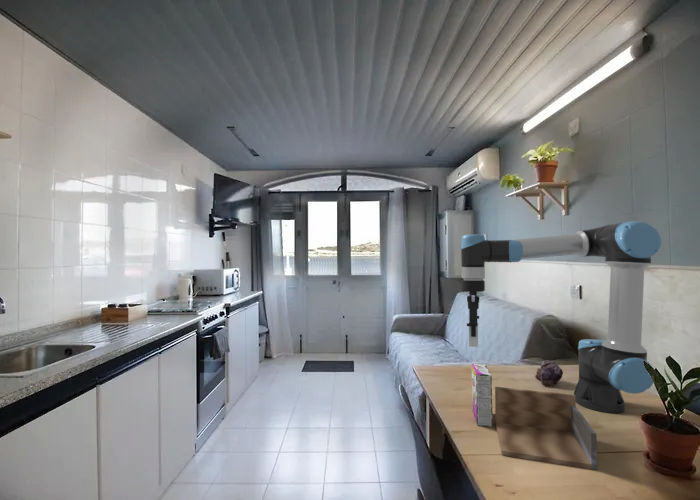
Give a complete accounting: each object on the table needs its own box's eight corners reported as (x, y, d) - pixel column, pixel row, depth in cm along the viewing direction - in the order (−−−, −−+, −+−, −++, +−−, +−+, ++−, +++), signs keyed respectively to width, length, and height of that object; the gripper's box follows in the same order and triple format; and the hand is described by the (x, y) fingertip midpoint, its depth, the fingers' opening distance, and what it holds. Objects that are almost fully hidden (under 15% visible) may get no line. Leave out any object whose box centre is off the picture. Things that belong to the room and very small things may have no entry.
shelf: (574, 435, 104) (574, 394, 105) (597, 470, 87) (596, 421, 87) (495, 424, 111) (495, 386, 111) (501, 455, 94) (501, 410, 94)
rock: (537, 389, 144) (565, 391, 141) (537, 369, 143) (565, 371, 140) (534, 375, 155) (560, 377, 151) (533, 357, 154) (559, 359, 150)
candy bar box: (471, 410, 121) (470, 363, 121) (486, 412, 120) (486, 364, 120) (476, 426, 110) (475, 373, 110) (493, 427, 109) (492, 374, 110)
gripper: (462, 277, 133) (463, 333, 132) (460, 281, 109) (460, 349, 109) (483, 277, 130) (484, 334, 130) (485, 282, 107) (486, 351, 106)
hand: (473, 341), depth 119 cm, fingers open, 13 cm apart
